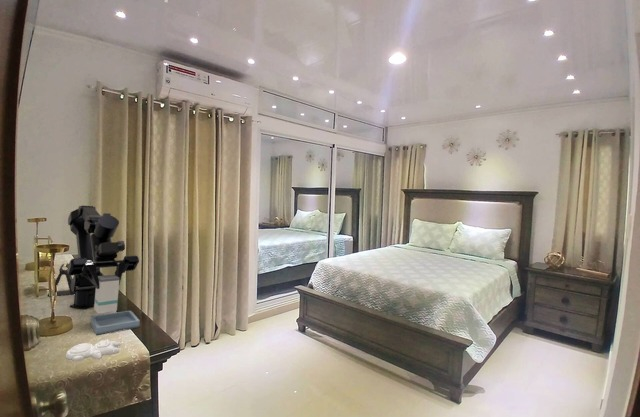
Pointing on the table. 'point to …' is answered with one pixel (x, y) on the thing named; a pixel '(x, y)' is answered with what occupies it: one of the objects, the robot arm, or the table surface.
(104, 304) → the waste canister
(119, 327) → the drip tray
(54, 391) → the table surface
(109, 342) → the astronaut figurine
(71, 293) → the phone stand
